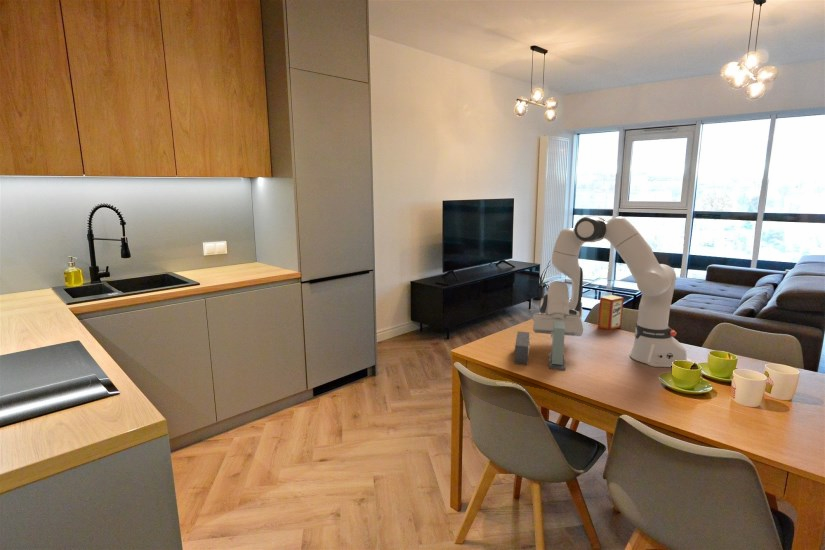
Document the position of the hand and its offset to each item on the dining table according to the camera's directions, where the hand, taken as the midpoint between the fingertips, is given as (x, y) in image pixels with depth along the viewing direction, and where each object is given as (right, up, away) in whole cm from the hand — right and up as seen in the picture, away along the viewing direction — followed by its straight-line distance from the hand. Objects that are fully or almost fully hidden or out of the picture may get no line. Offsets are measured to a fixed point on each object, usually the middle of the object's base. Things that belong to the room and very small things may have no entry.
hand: (557, 342), depth 184 cm
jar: (+22, +3, +45) cm, 50 cm away
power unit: (-14, -6, +2) cm, 16 cm away
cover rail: (-2, -7, -4) cm, 9 cm away
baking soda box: (+40, +2, +40) cm, 56 cm away
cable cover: (-2, -6, -5) cm, 8 cm away
